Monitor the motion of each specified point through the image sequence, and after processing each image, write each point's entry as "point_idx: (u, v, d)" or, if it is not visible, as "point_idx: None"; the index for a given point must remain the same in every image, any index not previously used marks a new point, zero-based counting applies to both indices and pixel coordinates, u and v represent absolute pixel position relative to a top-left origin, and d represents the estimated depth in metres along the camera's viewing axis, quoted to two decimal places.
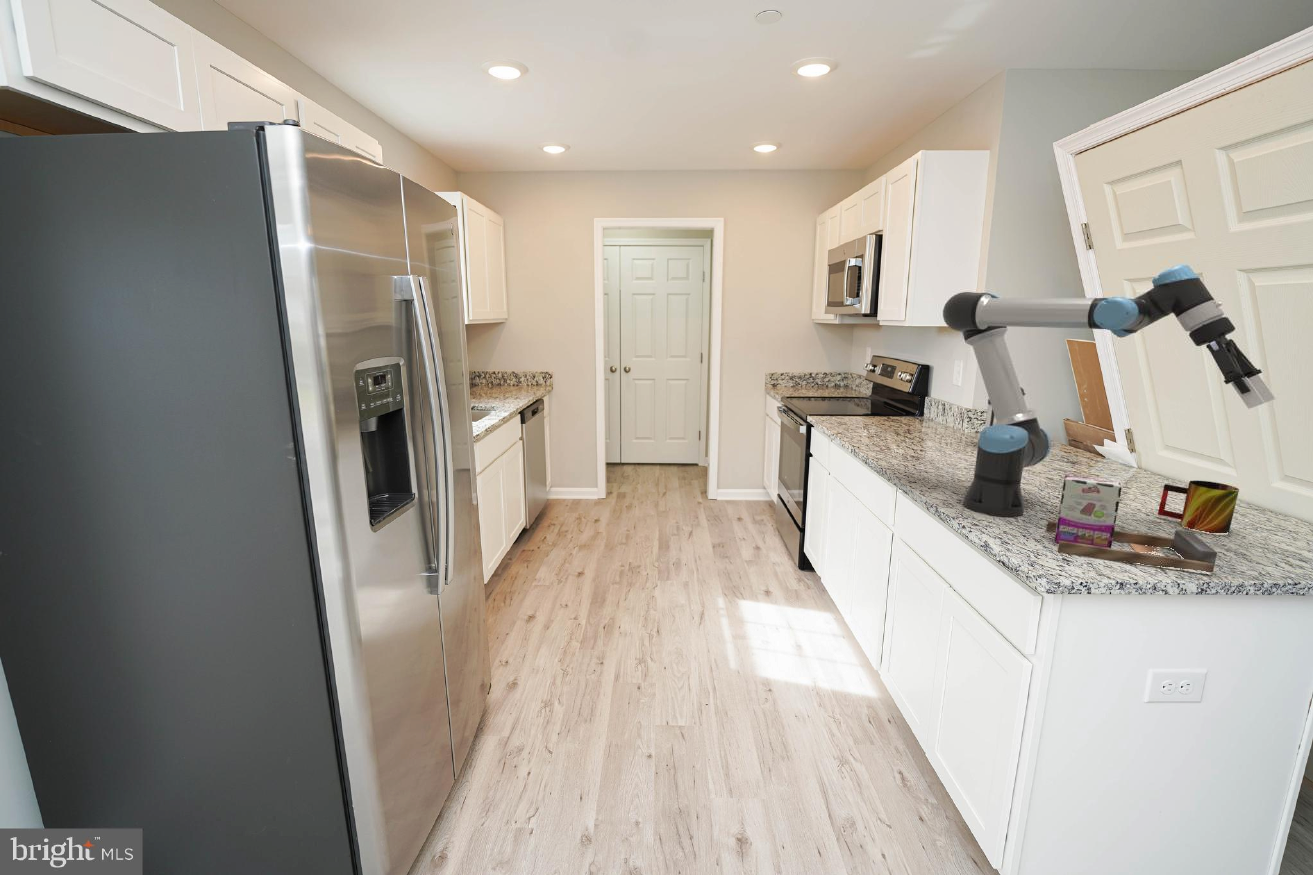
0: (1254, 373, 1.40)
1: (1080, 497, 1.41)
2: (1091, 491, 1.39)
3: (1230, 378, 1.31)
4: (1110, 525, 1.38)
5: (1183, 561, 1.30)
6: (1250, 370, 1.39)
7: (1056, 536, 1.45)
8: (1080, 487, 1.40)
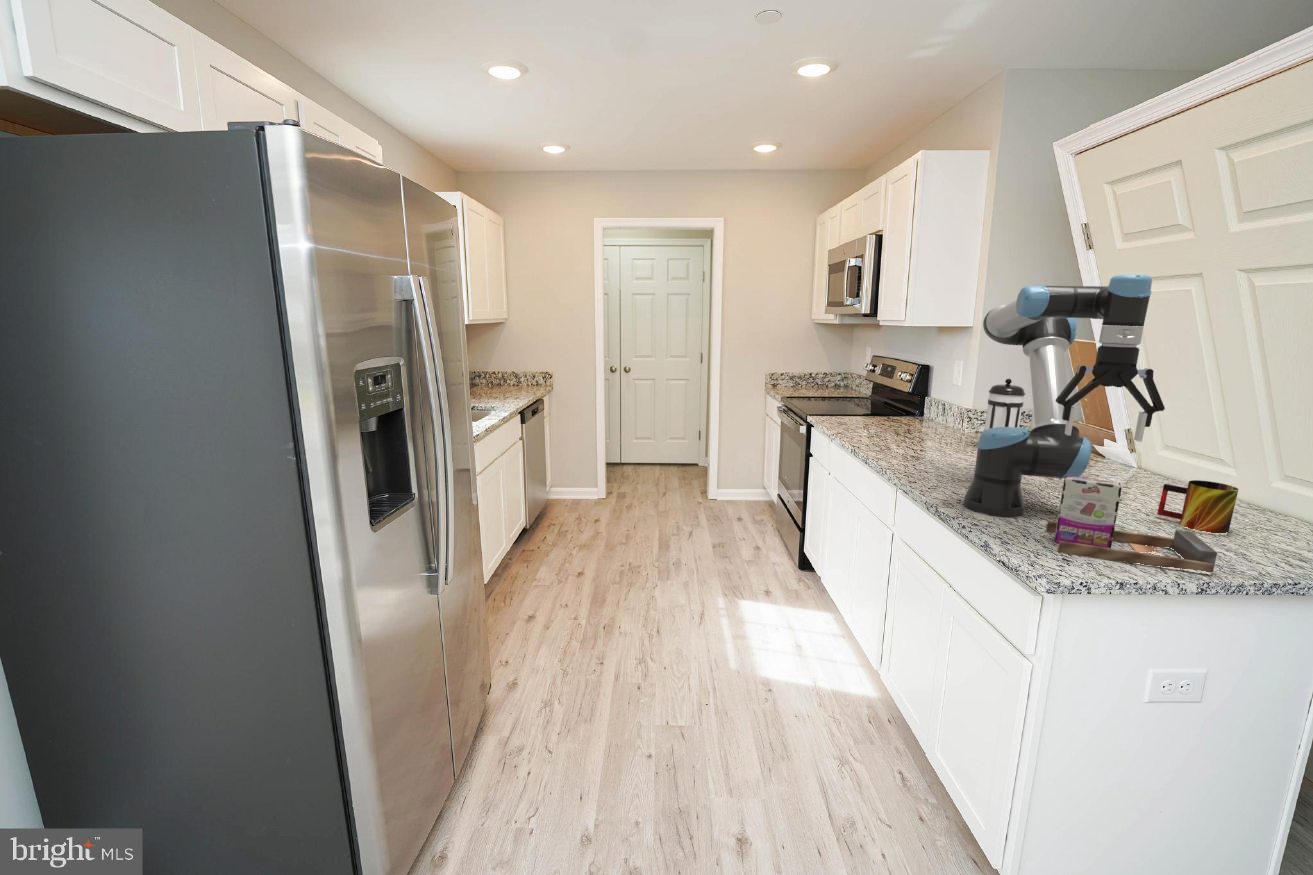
0: (1146, 410, 1.34)
1: (1080, 497, 1.41)
2: (1091, 491, 1.39)
3: (1056, 402, 1.41)
4: (1110, 525, 1.38)
5: (1183, 561, 1.30)
6: (1142, 406, 1.34)
7: (1056, 536, 1.45)
8: (1080, 487, 1.40)
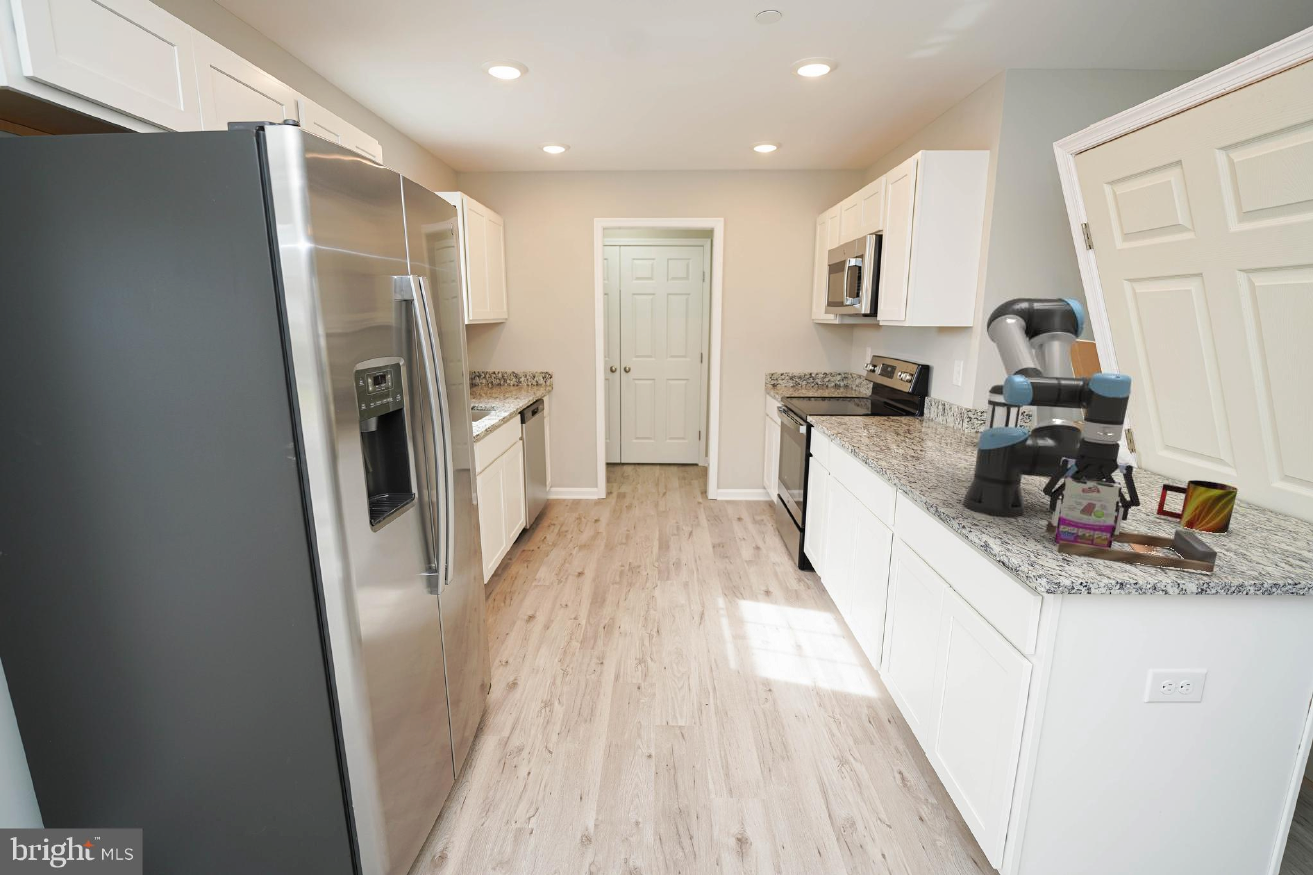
0: (1123, 505, 1.38)
1: (1080, 496, 1.41)
2: (1091, 491, 1.39)
3: (1043, 492, 1.46)
4: (1110, 525, 1.38)
5: (1183, 561, 1.30)
6: None
7: (1056, 536, 1.45)
8: (1080, 487, 1.40)
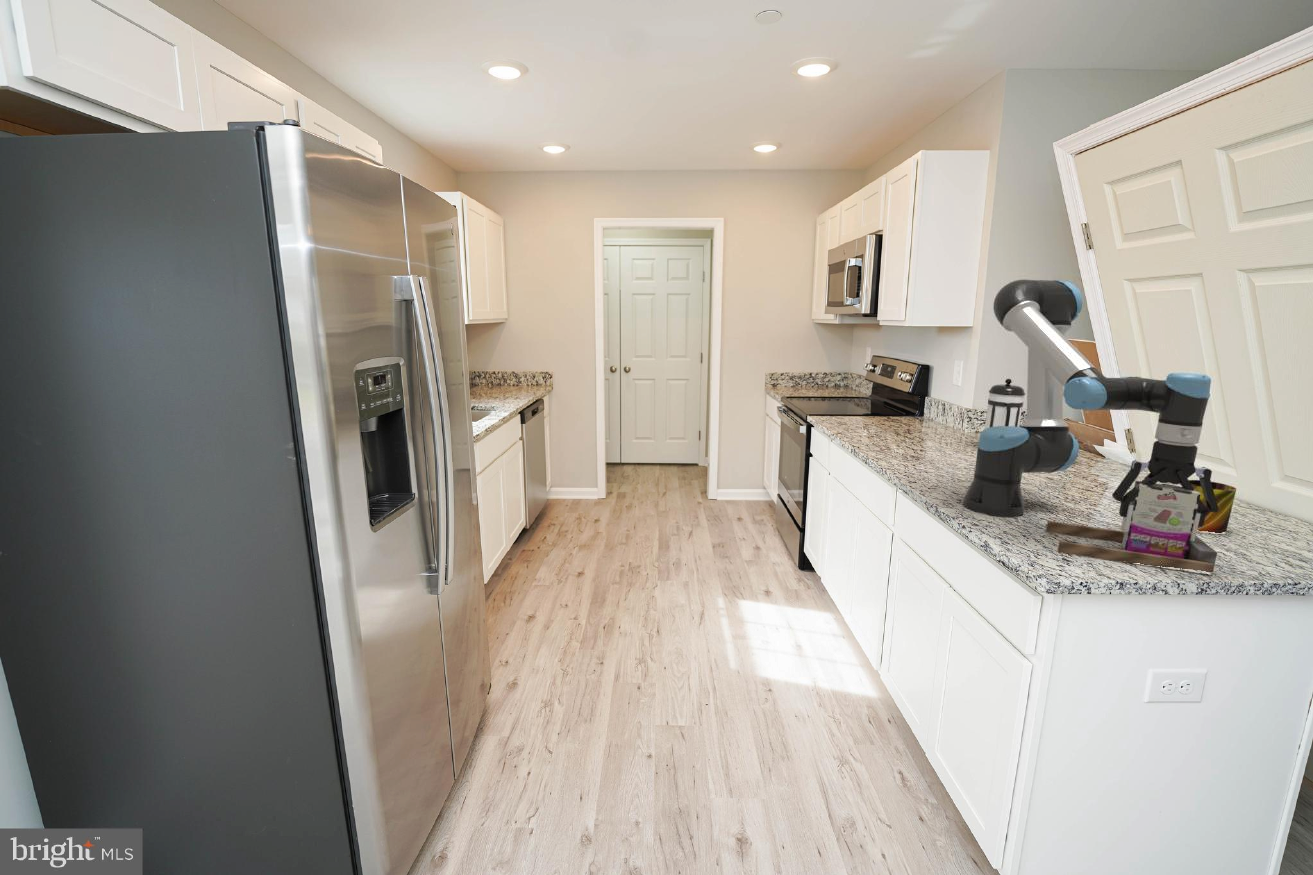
0: (1199, 511, 1.33)
1: (1155, 503, 1.35)
2: (1167, 498, 1.34)
3: (1113, 497, 1.40)
4: (1186, 533, 1.33)
5: (1183, 561, 1.30)
6: None
7: (1126, 544, 1.39)
8: (1155, 493, 1.35)
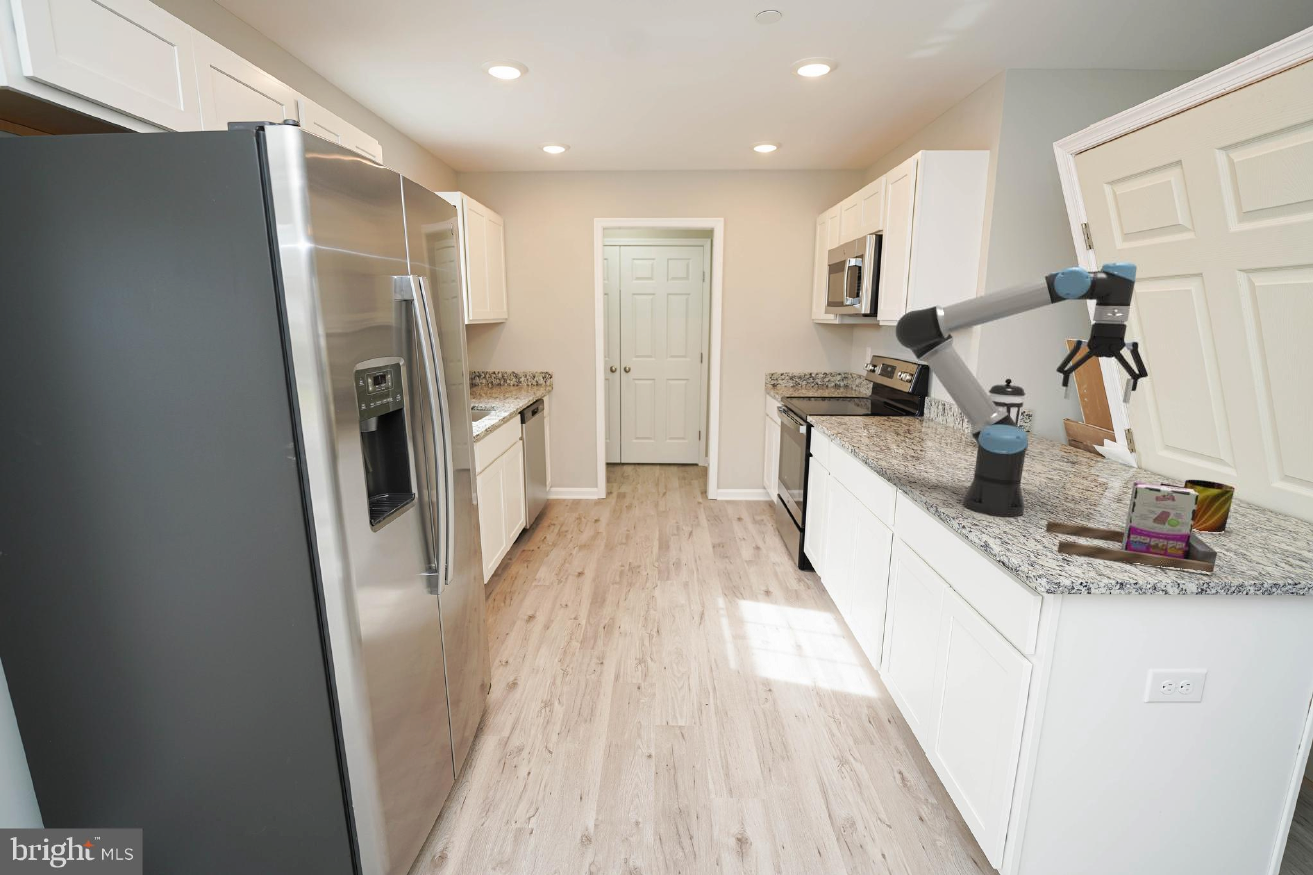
0: (1133, 377, 1.59)
1: (1154, 505, 1.35)
2: (1165, 499, 1.34)
3: (1057, 371, 1.67)
4: (1185, 534, 1.33)
5: (1183, 561, 1.30)
6: (1129, 373, 1.59)
7: (1126, 546, 1.39)
8: (1153, 495, 1.35)
